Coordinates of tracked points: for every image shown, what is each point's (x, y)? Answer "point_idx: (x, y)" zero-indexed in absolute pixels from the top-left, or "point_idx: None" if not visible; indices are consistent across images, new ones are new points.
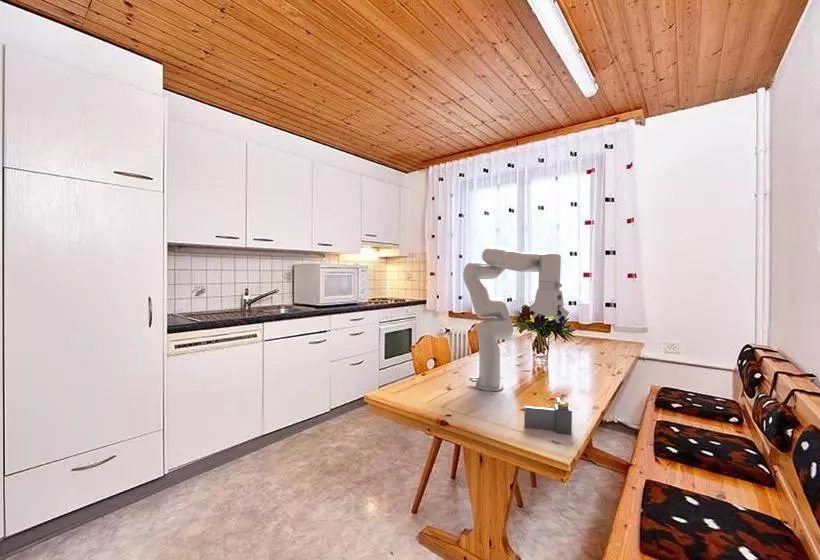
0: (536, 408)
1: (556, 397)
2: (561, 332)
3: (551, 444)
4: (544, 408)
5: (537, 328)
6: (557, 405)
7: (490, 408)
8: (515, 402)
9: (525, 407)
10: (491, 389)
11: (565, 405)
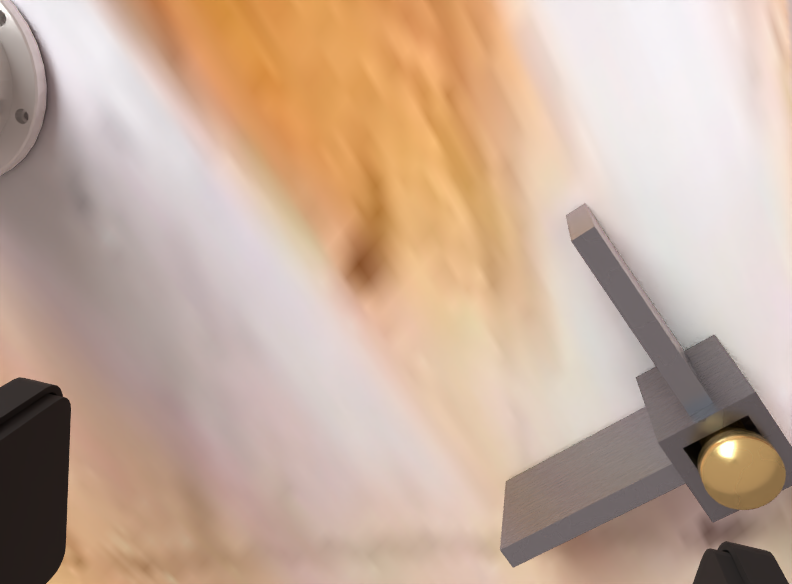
0: (577, 534)
1: (574, 238)
2: (765, 552)
3: None
4: (617, 504)
5: (61, 476)
6: (684, 446)
7: (231, 400)
8: (256, 197)
9: (517, 564)
10: (21, 151)
11: (772, 497)
